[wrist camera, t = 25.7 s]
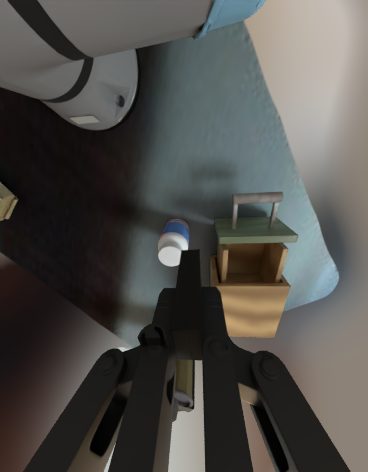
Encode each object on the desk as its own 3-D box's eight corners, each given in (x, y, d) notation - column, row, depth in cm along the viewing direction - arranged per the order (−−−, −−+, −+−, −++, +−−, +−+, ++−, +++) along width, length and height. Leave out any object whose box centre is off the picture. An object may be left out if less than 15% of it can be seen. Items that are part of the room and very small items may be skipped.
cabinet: (210, 255, 36) (214, 286, 28) (268, 254, 35) (291, 286, 27) (210, 299, 43) (213, 335, 34) (258, 300, 42) (274, 337, 33)
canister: (155, 326, 50) (133, 421, 33) (168, 307, 46) (150, 406, 28) (186, 338, 52) (180, 433, 34) (201, 320, 47) (204, 421, 30)
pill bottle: (164, 216, 33) (153, 239, 24) (190, 219, 33) (188, 243, 24) (164, 239, 35) (153, 268, 27) (188, 242, 35) (185, 271, 26)
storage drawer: (215, 188, 29) (221, 200, 22) (281, 185, 27) (310, 195, 21) (213, 272, 37) (217, 299, 30) (263, 272, 36) (279, 299, 29)
